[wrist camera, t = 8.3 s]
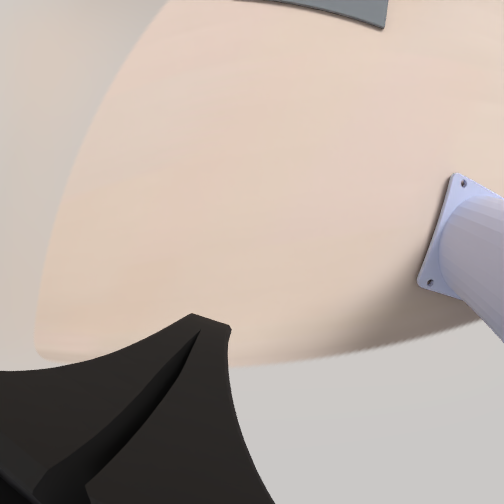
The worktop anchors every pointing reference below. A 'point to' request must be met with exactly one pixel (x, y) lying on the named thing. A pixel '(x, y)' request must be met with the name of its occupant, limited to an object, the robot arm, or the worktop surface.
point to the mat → (350, 9)
